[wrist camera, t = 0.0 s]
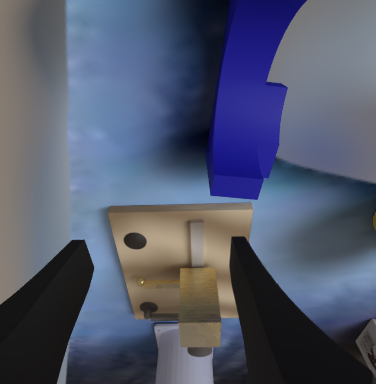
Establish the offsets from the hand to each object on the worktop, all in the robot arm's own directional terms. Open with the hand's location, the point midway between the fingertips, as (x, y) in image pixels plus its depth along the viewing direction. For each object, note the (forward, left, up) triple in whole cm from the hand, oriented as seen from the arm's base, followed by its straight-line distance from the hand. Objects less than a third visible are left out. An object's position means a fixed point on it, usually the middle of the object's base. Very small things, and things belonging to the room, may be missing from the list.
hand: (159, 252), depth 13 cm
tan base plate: (-13, 0, -10) cm, 16 cm away
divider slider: (-13, 0, -9) cm, 16 cm away
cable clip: (+6, -6, -10) cm, 13 cm away
